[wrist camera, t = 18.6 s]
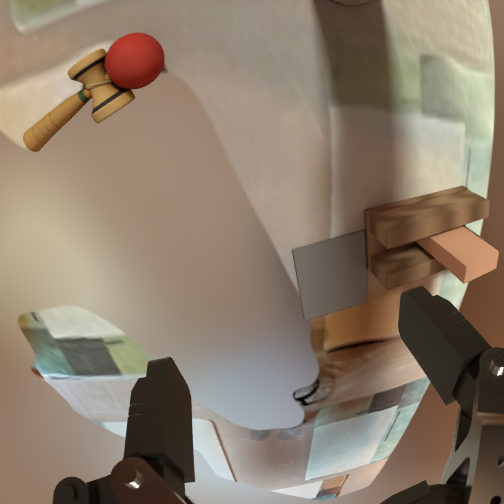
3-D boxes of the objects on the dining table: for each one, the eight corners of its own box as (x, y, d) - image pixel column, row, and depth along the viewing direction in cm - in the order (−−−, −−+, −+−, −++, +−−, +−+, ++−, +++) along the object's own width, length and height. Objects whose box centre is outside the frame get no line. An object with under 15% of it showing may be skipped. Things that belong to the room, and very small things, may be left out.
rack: (367, 267, 44) (387, 291, 39) (364, 210, 40) (387, 229, 35) (459, 237, 45) (483, 255, 39) (462, 185, 40) (489, 199, 35)
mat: (304, 319, 47) (304, 320, 47) (292, 249, 41) (293, 250, 41) (365, 300, 47) (366, 301, 47) (363, 230, 41) (364, 231, 41)
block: (412, 239, 42) (463, 283, 31) (412, 224, 41) (466, 266, 30) (443, 228, 42) (495, 268, 31) (444, 214, 41) (498, 251, 30)
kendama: (62, 166, 33) (185, 80, 29) (29, 175, 27) (165, 71, 23) (39, 115, 31) (155, 25, 27) (5, 118, 25) (132, 8, 21)
